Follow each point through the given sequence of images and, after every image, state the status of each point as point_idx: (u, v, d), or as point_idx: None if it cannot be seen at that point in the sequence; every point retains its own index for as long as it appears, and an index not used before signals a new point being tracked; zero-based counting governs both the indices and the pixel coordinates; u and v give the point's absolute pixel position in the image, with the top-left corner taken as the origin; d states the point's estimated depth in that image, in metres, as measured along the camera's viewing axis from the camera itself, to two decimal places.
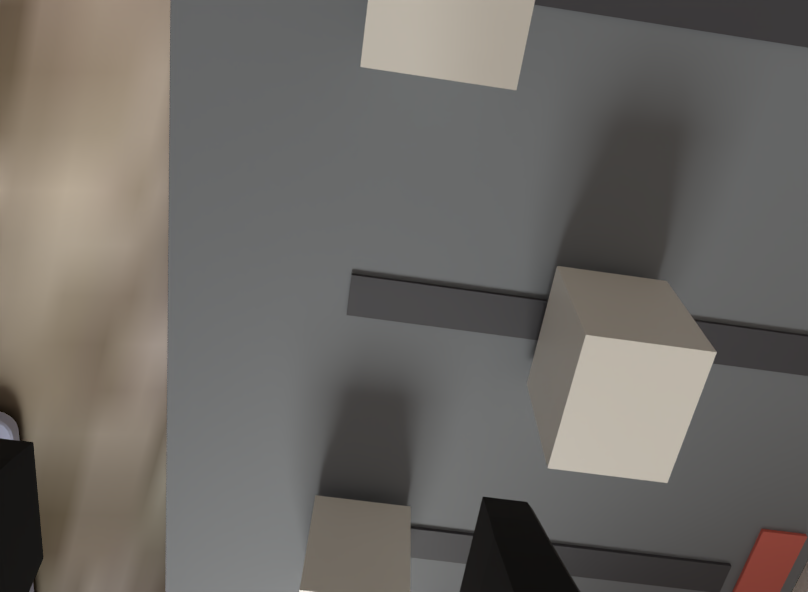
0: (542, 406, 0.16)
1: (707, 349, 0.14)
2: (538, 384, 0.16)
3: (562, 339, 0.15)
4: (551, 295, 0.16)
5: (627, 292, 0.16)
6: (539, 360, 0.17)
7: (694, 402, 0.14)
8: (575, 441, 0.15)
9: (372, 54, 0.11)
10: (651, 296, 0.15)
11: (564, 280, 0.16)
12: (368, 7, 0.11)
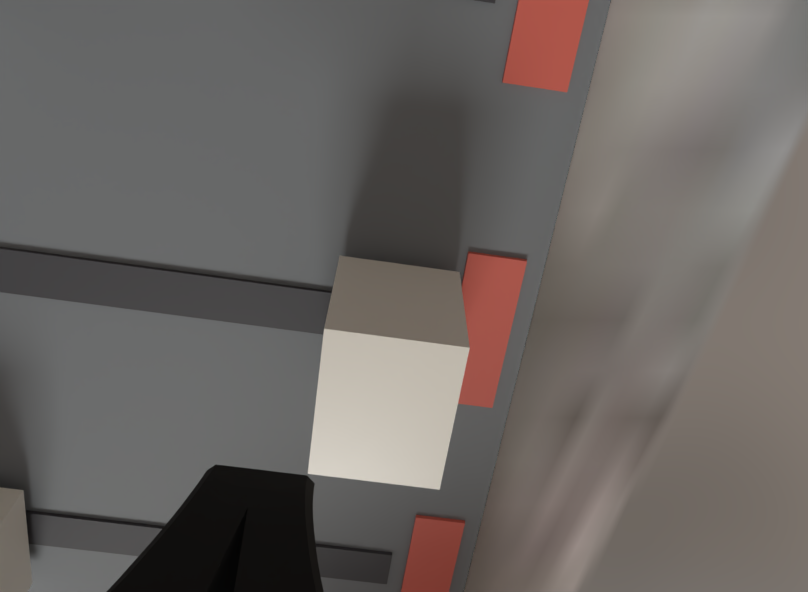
0: None
1: (460, 344, 0.13)
2: None
3: None
4: None
5: (404, 283, 0.14)
6: None
7: (456, 402, 0.13)
8: (332, 444, 0.13)
9: None
10: (430, 288, 0.14)
11: (338, 270, 0.14)
12: None
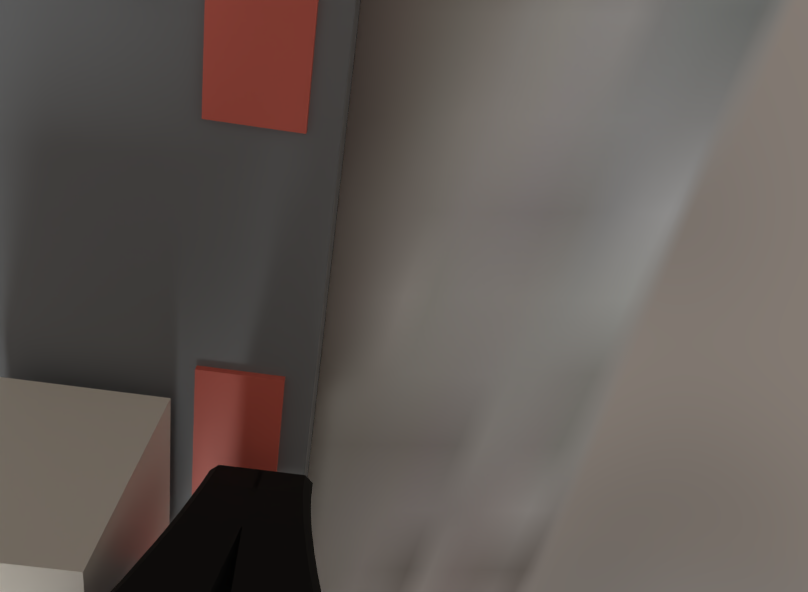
0: None
1: (70, 565, 0.07)
2: None
3: None
4: None
5: (60, 427, 0.09)
6: None
7: None
8: None
9: None
10: (97, 436, 0.09)
11: None
12: None
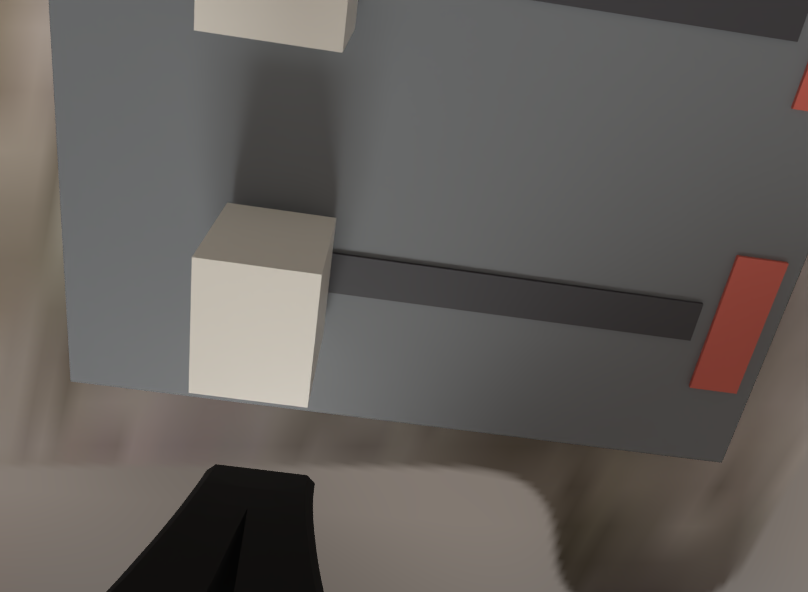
0: None
1: None
2: None
3: None
4: None
5: None
6: None
7: None
8: None
9: None
10: None
11: None
12: None
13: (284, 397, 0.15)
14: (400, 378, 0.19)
